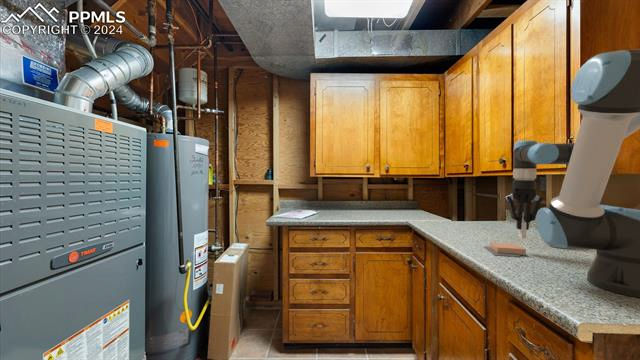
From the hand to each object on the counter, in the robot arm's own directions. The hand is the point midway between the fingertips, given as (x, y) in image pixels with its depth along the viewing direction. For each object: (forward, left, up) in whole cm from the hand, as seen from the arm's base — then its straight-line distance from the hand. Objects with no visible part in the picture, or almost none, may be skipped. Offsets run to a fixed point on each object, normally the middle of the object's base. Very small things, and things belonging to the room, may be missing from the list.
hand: (522, 237), depth 111 cm
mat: (0, +7, -7) cm, 10 cm away
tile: (0, 0, -5) cm, 5 cm away
